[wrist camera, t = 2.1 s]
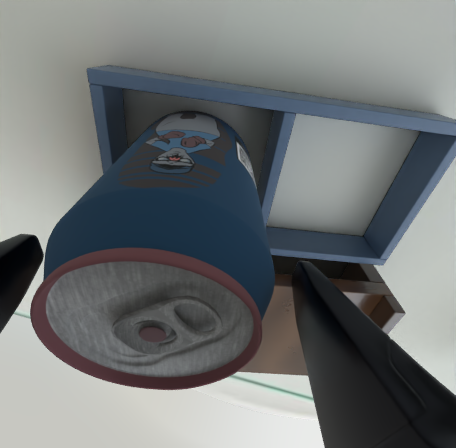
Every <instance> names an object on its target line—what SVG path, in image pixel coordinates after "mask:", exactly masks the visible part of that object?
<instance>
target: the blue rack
mask: <svg viewBox="0 0 456 448" xmlns="http://www.w3.org/2000/svg"><path fill="white" fill-rule="evenodd" d="M87 75H88V81H89V83H90V85H89V86H90V92H91V98H92V105H93V111H94V117H95V124H96V130H97V136H98V142H99V149H100V155H101V161H102V168H103V174H104V173H105V172H106V171H107V170H108V169H109V168H110V167H111V166H112V165H113V164H114V163H115V162H116V161H117V160H118V159H119V158H120V157H121V156H122V155H123V154H124V153H125V151H126V150H127V149H128V148H127V137H126V127H125V116H124V106H123V95H122V88H124V89H131V90H138V91H145V92H152V93H159V94H166V95H173V96H180V97H187V98H194V99H201V100H208V101H215V102H222V103H229V104H236V105H243V106H250V107H257V108H263V109H270V110H274V113H273V118H272V123H271V127H270V132H269V136H268V141H267V145H266V150H265V154H264V159H263V163H262V168H261V173H260V177H259V182H258V186H257V192H258V197H259V201H260V206H261V210H262V215H263V220H264V224H265V229H266V233H267V238H268V242H269V247H270V252H271V255H278V256H288V257H299V258H309V259H320V260H331V261H341V262H352V263H362V264H373V265H384V263H385V262H386V260H387V259H388V257H389V256H390V254H391V253H392V251H393V250H394V248H395V247H396V245H397V244H398V242H399V241H400V239H401V238H402V236H403V235H404V233H405V232H406V230H407V229H408V227H409V226H410V224H411V223H412V221H413V220H414V218H415V217H416V215H417V214H418V212H419V211H420V209H421V208H422V206H423V205H424V203H425V202H426V200H427V199H428V197H429V196H430V194H431V193H432V191H433V190H434V188H435V187H436V185H437V184H438V182H439V181H440V179H441V178H442V176H443V175H444V173H445V172H446V170H447V169H448V167H449V166H450V164H451V163H452V161H453V160H454V158H455V156H456V120H455V119H452V118H448V117H445V116H442V115H437V114H431V113H424V112H418V111H411V110H404V109H398V108H391V107H384V106H378V105H371V104H364V103H358V102H351V101H344V100H338V99H331V98H324V97H318V96H311V95H304V94H298V93H291V92H285V91H278V90H271V89H265V88H258V87H251V86H245V85H238V84H231V83H225V82H218V81H211V80H205V79H198V78H191V77H185V76H178V75H171V74H165V73H158V72H151V71H145V70H138V69H132V68H125V67H118V66H112V65H107V66H100V67H93V68H87ZM296 113H298V114H305V115H312V116H319V117H326V118H333V119H340V120H347V121H354V122H361V123H368V124H375V125H382V126H389V127H396V128H403V129H410V130H417V131H421V133H420V135H419V137H418V138H417V140H416V142H415V144H414V146H413V147H412V149H411V151H410V153H409V155H408V157H407V158H406V160H405V162H404V164H403V166H402V167H401V169H400V171H399V173H398V175H397V176H396V178H395V180H394V182H393V184H392V185H391V187H390V189H389V191H388V193H387V194H386V196H385V198H384V200H383V202H382V204H381V205H380V207H379V209H378V211H377V213H376V214H375V216H374V218H373V220H372V222H371V223H370V225H369V227H368V229H367V231H366V232H365V234H364V237H360V236H351V235H341V234H332V233H322V232H312V231H303V230H293V229H284V228H274V227H266V224H267V221H268V217H269V213H270V209H271V206H272V202H273V198H274V195H275V191H276V187H277V183H278V180H279V176H280V172H281V168H282V165H283V161H284V157H285V153H286V150H287V146H288V142H289V139H290V135H291V131H292V127H293V124H294V120H295V116H296Z"/></svg>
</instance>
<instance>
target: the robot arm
mask: <svg viewBox="0 0 456 448" xmlns="http://www.w3.org/2000/svg"><path fill="white" fill-rule="evenodd" d="M43 257H44V254H43V251H42V248H41V245H40V243H39V240H38V238H37V237H36V236H35V235H29V234H20V235H17V236H15V237H12V238H10V239H7V240H5V241H2V242H0V333H1V332H2V330H3V329H4V327H5V326H6V324H7V322H8V321H9V319H10V318H11V316H12V315H13V313H14V312H15V310H16V309H17V307H18V306H19V304H20V303H21V301H22V299H23V297H24V296H25V294H26V292H27V290H28V288H29V286H30V284H31V282H32V280H33V278H34V276H35V274H36V273H37V271H38V269H39V267H40V265H41V263H42V261H43ZM291 283H292V292H293V301H294V310H295V318H296V324H297V329H298V333H299V338H300V342H301V346H302V351H303V355H304V359H305V364H306V368H307V372H308V377H309V381H310V385H311V390H312V394H313V398H314V403H315V407H316V411H317V416H318V420H319V424H320V429H321V433H322V437H323V441H324V446H325V448H456V395H454V394H453V393H452V392H451V391H450V390H448V389H447V388H446V387H445V386H444V385H442V384H441V383H440V382H439V381H438V380H437V379H435V378H434V377H433V376H432V375H431V374H430V373H429V372H427V371H426V370H425V369H424V368H423V367H422V366H420V365H419V364H418V363H417V362H416V361H415V360H414V359H413V358H412V357H411V356H410V355H408V354H407V353H406V352H405V351H404V350H403V349H402V348H401V347H400V346H399V345H398V344H397V343H396V342H395V341H393V340H392V339H390V337H389V336H388V335H387V334H386V333H385V332H384V331H383V330H382V329H381V328H380V327H379V326H378V325H377V324H375V323H374V322H373V321H372V320H371V319H370V318H369V317H368V316H367V315H366V314H365V313H364V312H363V311H362V310H361V309H360V308H359V307H358V306H356V305H355V304H354V303H353V302H352V301H351V300H350V299H349V298H348V297H347V296H346V295H345V294H344V293H343V292H342V291H341V290H340V289H339V288H337V287H336V286H335V285H334V284H333V283H332V282H331V281H330V280H329V279H328V278H327V277H326V276H325V275H324V274H323V273H322V272H321V271H320V270H319V269H317V268H316V267H315V266H314V265H313V264H312V263H311V262H309V261H299V262H298V263H297V265H296V267H295V270H294V272H293V275H292V279H291Z"/></svg>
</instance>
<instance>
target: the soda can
mask: <svg viewBox="0 0 456 448" xmlns="http://www.w3.org/2000/svg"><path fill="white" fill-rule="evenodd" d="M274 285H275V271H274V265H273V261H272V256H271V252H270V247H269V242H268V238H267V233H266V229H265V224H264V220H263V215H262V210H261V206H260V201H259V197H258V192H257V188H256V183H255V178H254V174H253V169H252V165H251V160H250V156H249V153H248V150H247V148H246V146H245V144H244V142H243V140H242V139H241V137H240V136H239V135H238V134H237V132H236V131H235V130H234V129H233V128H232V127H230V126H229V125H228V124H227V123H225V122H224V121H222V120H220V119H219V118H217V117H215V116H212V115H209V114H206V113H202V112H197V111H181V112H176V113H172V114H169V115H166V116H164V117H162V118H160V119H158V120H157V121H155V122H154V123H153V124H152V125H150V126H149V127H148V128H147V130H146V131H145V132H144V133H143V134H142V135H141V136H140V137H139V138H138V139H137V140H136V141H135V142H134V143H133V144H132V145H131V146H130V147H129V148H128V149H127V150H126V151H125V153H124V154H123V155H122V156H121V157H120V158H119V159H118V160H117V161H116V162H115V163H114V164H113V165H112V166H111V167H110V168H109V169H108V170H107V171H106V172H105V173H104V174H103V176H102V177H101V178H100V179H99V180H98V181H97V182H96V183H95V184H94V185H93V186H92V187H91V188H90V189H89V190H88V191H87V192H86V193H85V194H84V195H83V196H82V197H81V198H80V200H79V201H78V202H77V203H76V204H75V205H74V206H73V207H72V208H71V209H70V210H69V211H68V212H67V213H66V214H65V215H64V216H63V217H62V218H61V220H60V221H59V222H58V223H57V224H56V226H55V228H54V229H53V231H52V233H51V235H50V237H49V240H48V243H47V247H46V253H45V262H44V280H43V282H42V284H41V285H40V287H39V288H38V289H37V291H36V293H35V295H34V297H33V300H32V303H31V309H30V316H31V322H32V326H33V328H34V330H35V332H36V334H37V336H38V338H39V339H40V340H41V342H42V343H43V344H44V345H45V346H46V348H47V349H48V350H49V351H50V352H52V353H53V354H54V355H55V356H56V357H58V358H59V359H61V360H62V361H63V362H65V363H67V364H68V365H70V366H72V367H73V368H75V369H77V370H79V371H81V372H84V373H86V374H88V375H91V376H93V377H96V378H99V379H102V380H105V381H108V382H112V383H116V384H120V385H125V386H131V387H138V388H146V389H158V390H177V389H178V390H179V389H189V388H195V387H199V386H203V385H207V384H210V383H214V382H217V381H219V380H222V379H225V378H227V377H229V376H231V375H233V374H235V373H236V372H238V371H239V370H241V369H242V368H243V367H245V366H246V365H247V364H248V363H249V362H250V361H251V360H252V359H253V357H254V356H255V355H256V353H257V351H258V349H259V347H260V344H261V340H262V320H263V317H264V315H265V313H266V310H267V308H268V306H269V303H270V301H271V298H272V295H273V291H274Z"/></svg>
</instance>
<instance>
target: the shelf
mask: <svg viewBox="0 0 456 448" xmlns="http://www.w3.org/2000/svg"><path fill="white" fill-rule="evenodd" d="M291 279H292V275H286V274H275V285H274V291H273V295H272V298H271V301H270V303H269V306H268V308H267V310H266V313H265V315H264V317H263V320H262V340H261V344H260V347H259V349H258V351H257V353H256V355H255V356H254V357H253V359H252V360H251V361H250V362H249V363H248V364H247V365H246V366H245V367H243V368H242V369H241V370H239V371H238V372H253V373H271V374H289V375H307V376H308V372H307V368H306V364H305V359H304V355H303V351H302V346H301V342H300V338H299V333H298V329H297V324H296V318H295V310H294V301H293V292H292V283H291ZM328 279H329V280H330V281H331V282H332V283H333V284H334V285H335V286H336V287H337V288H339V289H340V290H341V291H342V292H343V293H344V294H345V295H346V296H347V297H348V298H349V299H350V300H351V301H352V302H353V303H354V304H355V305H356V306H358V307H359V308H360V309H361V310H362V311H363V312H364V313H365V314H366V315H367V316H368V317H369V318H370V319H371V320H372V321H373V322H374V323H375V324H377V325H378V326H379V327H380V328H381V329H382V330H383V331H384V332H385V333H386V334H388V333H389V332H390V331H391V330H392V329H393V327H394V326H395V325H396V324H397V323H398V322H399V321H400V319H401V318H402V317H403V316H404V315H405V311H404V310H403V308H402V307H401V305H400V304H399V303H398V301H397V300H396V298H395V297H394V295H393V294H392V292H391V291H390V289H389V288H388V286H387V285H386V284H385V282H384V280H383V279H382V277H381V276H380V274H379V273H378V271H377V270H376V269H375V267H374V266H373V264H362V263H352V262H349V263H348V265H347V267H346V268H345V270H344V272H343V274H342V276H341V278H340V279H331V278H328Z"/></svg>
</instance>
